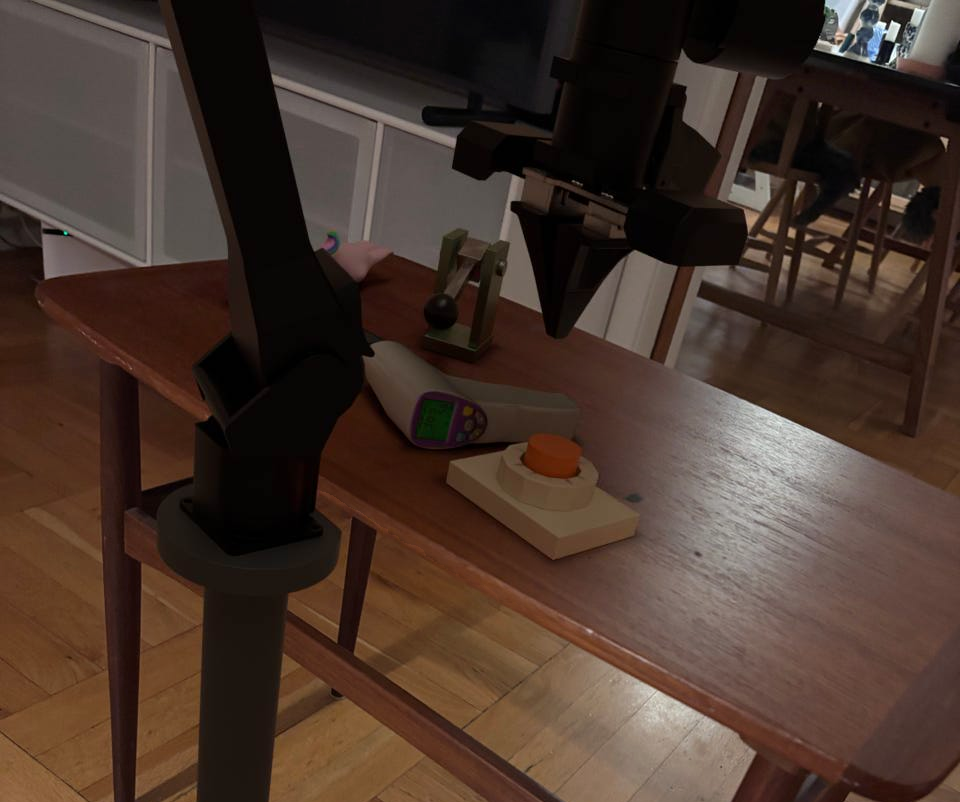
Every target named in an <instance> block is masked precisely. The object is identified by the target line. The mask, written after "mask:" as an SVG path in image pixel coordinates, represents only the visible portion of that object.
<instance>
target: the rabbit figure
mask: <svg viewBox="0 0 960 802" xmlns="http://www.w3.org/2000/svg"><path fill="white" fill-rule="evenodd" d="M325 236H327V238H326V240H325V241H324V242H323V243H322V244H321V245H320V247H319V248H318V250H319V249H321V248H324V249H325V250H326V251H327V252H328V253H329V254H330V255H331V256H332V257H333V258H334V259H335V260H336V261H337V262H338V263H339V264H340V265H341V266H342V267H343V268H344V269H345V270H346V271H347V272H348V273H349V274H350V275H351V276H352V277H353V278H354V279H355V280H356V281H357V283H358V284H359V283H360V282H362V281H363V280H364V279H365V278H366V276H367V275H368V273H369V270H370V269H371V268H372V267H373V266H375V265H377V264H379V263H380V262H382V261H383V260H384V259H385V258H387V257H388V256H389V255H394V254H395V252H394V250H392V249H390V248H386V247H382V246H380V245H378V244H377V243H376V242H375V243H374V242H372V241H369V240H358V241H354V242H345V243H341V242H340V237H339V235H338V234H337V232H336V231H334V230H330V231H328V232H327V233H325ZM340 243H341V244H340Z"/></svg>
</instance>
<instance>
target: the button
mask: <svg viewBox="0 0 960 802" xmlns="http://www.w3.org/2000/svg"><path fill="white" fill-rule="evenodd" d="M580 456H582V448H581V447H580V445H579V444H577V443H576V442H575V441H573V440H569V439H567V438H564V437H561V436H558V435H553V434H535V435H533V436H531V437H530V438H529V441H528V445H527V450H526V454H525V458H524V462H523V464H524V466H525V467H527V468H528V469H530V470H531V471H533V472H534V473H537V474H540V475H543V476H546V477H549V478H559V479H568V478H573V477H574V476H575V474H576V470H577V466H578V463H579V459H580Z"/></svg>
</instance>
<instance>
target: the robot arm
mask: <svg viewBox="0 0 960 802" xmlns="http://www.w3.org/2000/svg"><path fill="white" fill-rule="evenodd" d="M157 3H158V6H159V9H160V12H161V17H162V20H163V22H164V27H165V29H166V33H167V37H168V40H169V43H170V47H171V50H172V54H173V57H174V62H175V64H176V68H177V71H178V72H177V73H178V75H179V78H180V82H181V85H182V88H183V92H184V97H185V100H186V102H187V106H188V109H189V113H190V116H191V120H192V123H193V127H194V131H195V134H196V137H197V141H198V145H199V148H200V151H201V155H202V158H203V161H204V165H205V169H206V172H207V175H208V176H207V177H208V180H209V183H210V186H211V189H212V190H211V191H212V194H213V197H214V200H215V203H216V207H217V211H218V214H219V218H220V220H221V224H222V228H223V230H224V235H225V238H226V245H227V271H226V272H227V273H226V274H227V275H226V276H227V277H226V293H227V302H228V311H229V320H230V328H231V330H230V331H229V332H228V333H227V334H226V335H224V336H223V337H222V338H221V339H220V340H219V341H218V342H217V343H215V344H214V345H213V346H212V347H210V349H208V350H207V351H206V352H205V353H204V354H203V355H202V356H200V357H199V358H198V359H197V360H196V361H195V362H194V363H193V364H192V365H191V373H192V375H193V378H194V381H195V384H196V387H197V389H198V392H199V395H200V397H201V399H202V401H203V402H205V404H206V405H207V408H208V409H209V411H210V412H211V415H209V417H208V418H207V419H206V420H204V421H197V422H195V423H194V439H193V441H194V442H193V445H194V446H193V474H192V475H193V477H192V478H193V479H192V481H193V483H192V484H193V496H189V497H184V498H181V499H180V501H179V507H180V509H181V510H182V511H183V512H184V513H185V514H186V515H187V516H188V517H189V518H190V519H191V520H192V521H193V522H194V523H196V524H197V525H198V526H199V527H200V528H201V529H202V530H203V531H204V532H205V533H206V534H207V535H208V536H209V537H210V538H211V539H212V540H213V541H214V542H215V543H216V544H217V545H218V546H219V547H220V548H221V549H222V550H223V551H224V552H225V553H226V554H228V555H230V556H239V555H243V554H248V553H252V552H256V551H261V550H265V549H269V548H274V547H278V546H282V545H287V544H291V543H295V542H300V541H304V540H308V539H313V538H317V537H320V536H322V535H323V526H322V525H321V524H320V523H318V522H317V521H316V520H315V519H314V518H313V517H311V516H310V515H309V514H310V513H313V512H314V510H315V508H316V507H317V506H316V505H317V498H318V497H317V495H318V488H319V478H320V469H321V461H322V460H321V458H322V453H323V451H324V449H325V446H326V444H327V443H328V441H329V438H330V437H331V434H332V433H333V430H334V429H335V426H336V425H337V422H338V420H339V418H341V417H342V416H343V415H344V414H345V413H346V412H347V411H348V410H349V409H350V408H352V406H353V405H354V403H355V402H356V400H357V398H358V396H359V395H360V394H362V393H363V392H364V389H365V384H366V381H367V378H366V377H365V363H364V360H363V357H362V356H366V357H370V358H372V357H374V355H375V352H374V350H373V349H372V348H371V346H370V345H369V343H368V342H367V340H366V337H365V334H364V331H363V328H364V327H363V326H364V325H363V315H362V314H363V313H362V297H361V292H360V291H361V290H360V285H359V282H358V283H357V281H356V280H355V279H354V278H353V277H352V276H351V275H350V274H349V273H348V272H347V271H346V270H345V269H344V268H343V267H342V266H341V265H340V264H339V263H338V262H337V261H336V260H335V259H334V258H333V257H332V256H331V255H330V254H329V253H328V252H327V251H326V250H325V249H324V248H321V249H319V248H318V249H317V250H314V248H313V245H312V243H311V239H310V236H309V231H308V226H307V223H306V219H305V214H304V210H303V205H302V201H301V197H300V192H299V188H298V184H297V180H296V179H297V178H296V176H295V171H294V167H293V162H292V158H291V153H290V149H289V146H288V145H289V144H288V140H287V136H286V132H285V128H284V123H283V119H282V115H281V111H280V105H279V101H278V97H277V92H276V89H275V83H274V79H273V76H272V71H271V67H270V62H269V58H268V54H267V50H266V45H265V40H264V37H263V32H262V28H261V24H260V23H261V22H260V20H259V14H258V10H257V6H256V2H255V0H157ZM825 8H826V0H581V3H580V8H579V14H578V17H577V22H576V28H575V31H574V37H573V41H572V44H571V50H570V54H569V57H565V56H559V55H553V57H552V61H551V66H550V70H549V75H548V77H549V78H552V79H555V80H557V81H561V82H563V86H562V91H561V95H560V100H559V104H558V110H557V114H556V119H555V124H554V127H553V132H552V135H549V134H547V133H544V132H542V131H540V130H536V129H534V128H531V127H529V126H526V125H522V124H514V123H513V124H512V123H503V122H495V121H494V122H493V121H484V120H483V121H482V120H474V119H473V120H472V119H471V120H470V121H469V122H468V123H467V124H466V125H465V127H464V128H462V130H461V131H460V132H459V133H458V134H457V135H456V139H455V145H454V151H453V152H454V153H453V157H452V163H451V169H452V170H454V171H456V172H458V173H460V174H463V175H465V176H467V177H469V178H471V179H474V180H476V181H482V182H486V181H487V180H488V179H489V178H490V177H491V176H492V175H493V174H494V173H508V174H510V175H513V176H516V177H517V178H520V179H522V180H524V181H523V187H522V191H521V197H520V200H511V201H510V202H509V203H510V205H509V211H510V212H511V213H514V214H515V215H516V216H517V218H518V221H519V226H520V228H521V232H522V236H523V239H524V242H525V246H526V250H527V253H528V257H529V260H530V264H531V268H532V272H533V277H534V281H535V287H536V291H537V297H538V301H539V305H540V311H541V317H542V320H543V325H544V330H545V333H546V335H547V336H549V337H551V338H552V339H553V340H564V339H566V338H567V337H568V336H569V334H570V333H571V331H572V330H573V328H574V327H575V326H576V324H577V323H578V321H579V319H580V318H581V316H582V314H583V313H584V311H585V310H586V308H587V307H588V305H589V304H590V303H591V301H592V299H593V298H594V296H595V295H596V293H597V291H598V290H599V289H600V287H601V285H602V284H603V283H604V282H605V280H606V279H607V277H608V276H610V274H611V272H612V271H613V270H614V269H615V268H616V267H617V265H618V264H619V263H620V262H621V261H622V260H623V259H625V258H626V257H627V256H629V255H630V254H631V253H634V251H636V252H639V253H641V254H643V255H646V256H648V257H649V258H652V259H655V260H657V261H658V262H662V263H664V264H666V265H670V266H675V267H678V268H691V267H692V268H693V267H694V268H695V267H696V268H697V267H722V266H724V267H725V266H726V267H727V266H729V267H730V266H739V263H740V260H741V258H742V254H743V251H744V249H745V246H746V244H747V240H748V237H749V227H748V222H747V218H746V213H745V209H744V208H742V207H739V206H736V205H734V204H731V203H729V202H726V201H724V200H721V199H717V198H715V197H714V196H710V195H708V194H705V193H704V192H705V190H706V189H707V186H708V184H709V183H710V180H711V178H712V177H713V175H714V173H715V171H716V169H717V167H718V165H719V163H720V161H721V159H722V157H723V156H722V155H723V154H722V153H721V152H720V151H719V150H718V149H717V148H715V147H714V145H712V143H711V142H709V141H708V140H707V139H706V138H705V137H704V136H703V135H702V134H701V133H700V132H699V131H698V130H697V129H695V128H693V127H692V126H690V125H689V124H688V123H686V122H685V121H684V112H685V108H686V105H687V101H688V96H687V94H686V93H687V89H688V85H685V84H681V83H678V82H674V80H675V78H676V77H675V76H676V73H677V69H678V66H679V62H678V61H680V58H681V54H682V51H683V53H684V54H685V57H686V58H688V60H689V61H691V62H692V63H694V64H696V65H697V64H698V65H702V66H705V67H706V66H707V67H712V68H717V69H722V70H727V71H731V72H735V73H740V74H745V75H750V76H755V77H760V78H764V79H770V80H783V79H785V78H787V77H789V76H792V75H793V74H794V73H795V72H796V71H798V70H799V69H800V68H801V67H802V66H803V65H804V63H806V61H807V60H808V59H809V57H810V56H811V55H812V53H813V51H814V49H815V48H816V47H817V44H818V42H819V39H820V37H821V35H822V32H823V30H824V27H825V22H826V18H827V16H826V14H825Z"/></svg>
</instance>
